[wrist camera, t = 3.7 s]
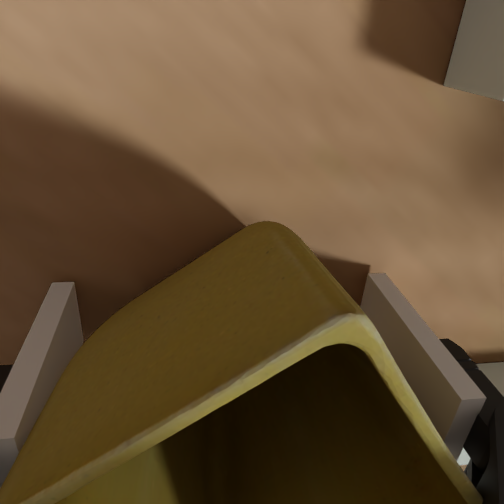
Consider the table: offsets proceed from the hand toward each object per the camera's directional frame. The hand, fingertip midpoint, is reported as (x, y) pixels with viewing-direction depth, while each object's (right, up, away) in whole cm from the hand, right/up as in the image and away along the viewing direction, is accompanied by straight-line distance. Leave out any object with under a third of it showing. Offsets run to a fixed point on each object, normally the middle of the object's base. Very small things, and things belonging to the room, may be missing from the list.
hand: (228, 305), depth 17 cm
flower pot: (0, 0, +1) cm, 1 cm away
